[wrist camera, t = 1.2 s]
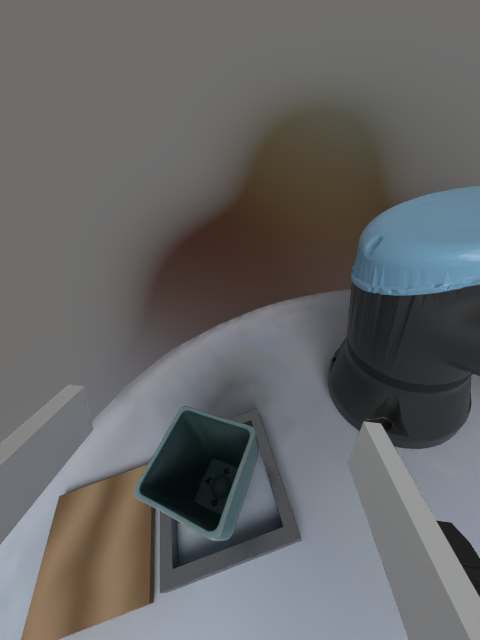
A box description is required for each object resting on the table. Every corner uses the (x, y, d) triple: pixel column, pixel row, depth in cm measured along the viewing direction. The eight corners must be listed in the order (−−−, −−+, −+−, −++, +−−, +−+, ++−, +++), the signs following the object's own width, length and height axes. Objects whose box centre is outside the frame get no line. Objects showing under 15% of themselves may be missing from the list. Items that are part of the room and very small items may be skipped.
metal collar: (259, 414, 34) (257, 408, 33) (301, 540, 23) (300, 538, 22) (164, 447, 33) (159, 443, 32) (166, 592, 23) (159, 592, 22)
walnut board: (155, 464, 32) (152, 462, 31) (153, 602, 23) (149, 602, 22) (63, 497, 31) (59, 496, 30) (24, 652, 22) (17, 654, 21)
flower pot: (206, 437, 33) (182, 403, 27) (269, 459, 29) (257, 427, 23) (170, 514, 27) (129, 494, 21) (242, 555, 24) (217, 544, 18)
